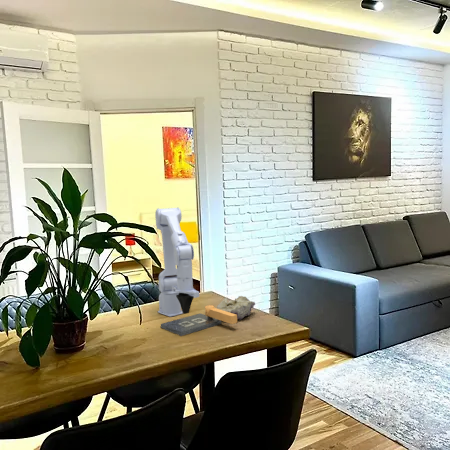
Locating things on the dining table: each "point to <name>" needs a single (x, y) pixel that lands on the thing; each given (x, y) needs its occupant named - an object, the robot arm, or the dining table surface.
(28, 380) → the dining table surface
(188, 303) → the robot arm
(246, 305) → the geode
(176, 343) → the dining table surface
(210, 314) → the orange rectangular block
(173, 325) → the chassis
